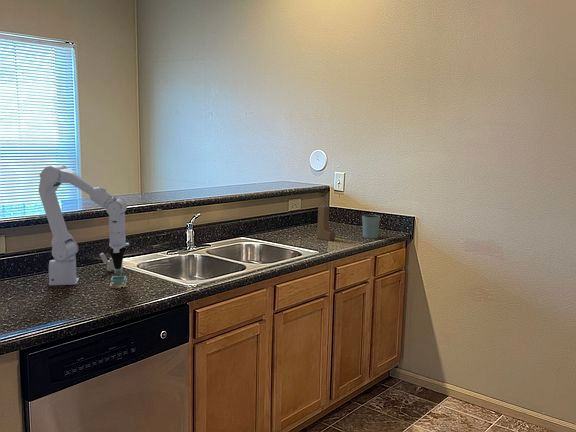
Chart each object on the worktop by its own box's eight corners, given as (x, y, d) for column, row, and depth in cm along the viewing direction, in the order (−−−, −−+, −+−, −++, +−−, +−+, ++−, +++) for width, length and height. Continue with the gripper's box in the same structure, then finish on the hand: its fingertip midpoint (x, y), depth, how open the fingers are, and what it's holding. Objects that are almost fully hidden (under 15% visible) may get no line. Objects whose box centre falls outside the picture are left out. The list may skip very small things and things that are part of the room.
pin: (114, 273, 207) (113, 255, 206) (114, 271, 210) (114, 253, 209) (122, 273, 208) (121, 255, 207) (122, 271, 211) (122, 253, 209)
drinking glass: (373, 239, 306) (374, 217, 304) (357, 236, 312) (358, 215, 310) (382, 236, 314) (383, 215, 312) (366, 234, 320) (367, 213, 318)
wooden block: (334, 239, 302) (336, 207, 299) (329, 241, 298) (330, 207, 296) (322, 237, 308) (323, 205, 305) (316, 238, 305) (318, 205, 302)
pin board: (109, 288, 204) (109, 281, 204) (112, 281, 213) (111, 274, 213) (125, 287, 206) (125, 281, 205) (127, 280, 215) (126, 274, 214)
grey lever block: (116, 269, 231) (115, 250, 229) (118, 270, 229) (117, 251, 228) (99, 272, 226) (99, 252, 225) (101, 272, 225) (101, 253, 223)
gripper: (127, 235, 200) (128, 272, 202) (129, 228, 214) (130, 262, 216) (106, 235, 199) (107, 272, 201) (110, 228, 213) (111, 263, 215)
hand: (118, 267), depth 209 cm, fingers closed on pin, 3 cm apart
